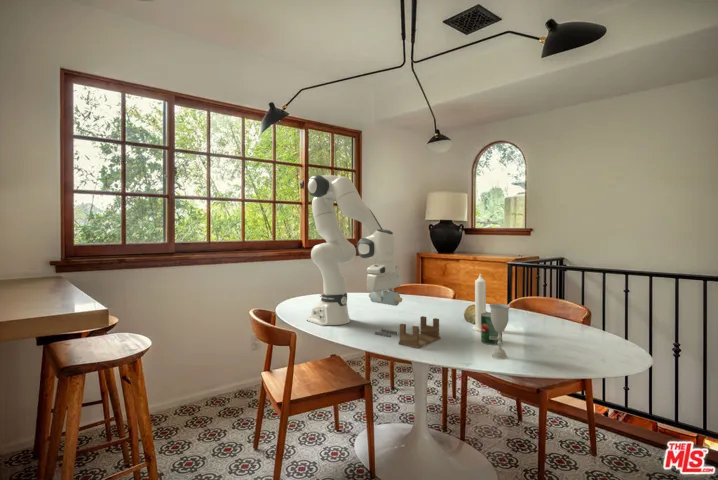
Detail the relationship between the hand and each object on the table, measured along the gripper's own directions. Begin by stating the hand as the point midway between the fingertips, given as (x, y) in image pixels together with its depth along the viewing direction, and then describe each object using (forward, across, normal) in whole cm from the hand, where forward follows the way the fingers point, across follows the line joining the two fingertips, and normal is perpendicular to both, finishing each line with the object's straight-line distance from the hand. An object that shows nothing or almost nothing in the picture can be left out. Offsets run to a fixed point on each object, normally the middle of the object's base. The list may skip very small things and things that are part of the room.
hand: (384, 299), depth 170 cm
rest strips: (+15, 0, +1) cm, 15 cm away
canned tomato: (+15, -16, +41) cm, 46 cm away
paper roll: (-1, 0, 0) cm, 1 cm away
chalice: (+14, -1, +50) cm, 52 cm away
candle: (+15, -31, +30) cm, 45 cm away
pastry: (+15, -45, +22) cm, 52 cm away
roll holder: (+15, 0, +18) cm, 23 cm away
